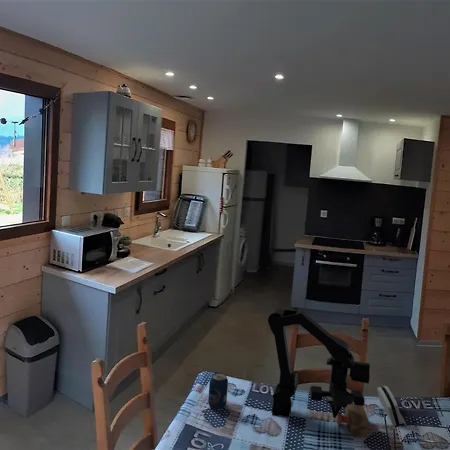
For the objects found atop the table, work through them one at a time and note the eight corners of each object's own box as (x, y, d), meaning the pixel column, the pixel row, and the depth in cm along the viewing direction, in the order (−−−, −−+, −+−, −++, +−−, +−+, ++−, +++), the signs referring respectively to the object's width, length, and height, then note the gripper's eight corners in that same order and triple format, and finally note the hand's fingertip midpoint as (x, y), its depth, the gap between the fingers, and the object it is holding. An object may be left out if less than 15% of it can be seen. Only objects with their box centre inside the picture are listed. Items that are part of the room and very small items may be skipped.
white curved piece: (406, 426, 163) (400, 402, 162) (393, 429, 163) (387, 404, 162) (392, 402, 180) (386, 379, 178) (380, 404, 180) (375, 382, 179)
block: (350, 435, 155) (352, 420, 154) (344, 416, 167) (345, 402, 166) (367, 437, 155) (369, 422, 154) (360, 418, 166) (362, 404, 166)
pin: (338, 427, 159) (339, 416, 158) (336, 420, 163) (337, 409, 163) (365, 430, 158) (366, 419, 158) (362, 423, 163) (363, 412, 162)
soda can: (204, 406, 167) (206, 376, 165) (214, 398, 173) (216, 370, 171) (219, 413, 163) (222, 382, 161) (229, 405, 169) (231, 375, 167)
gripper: (314, 385, 152) (310, 427, 154) (370, 391, 150) (365, 433, 152) (311, 370, 163) (307, 409, 165) (363, 375, 161) (358, 415, 163)
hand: (334, 417), depth 161 cm, fingers closed
